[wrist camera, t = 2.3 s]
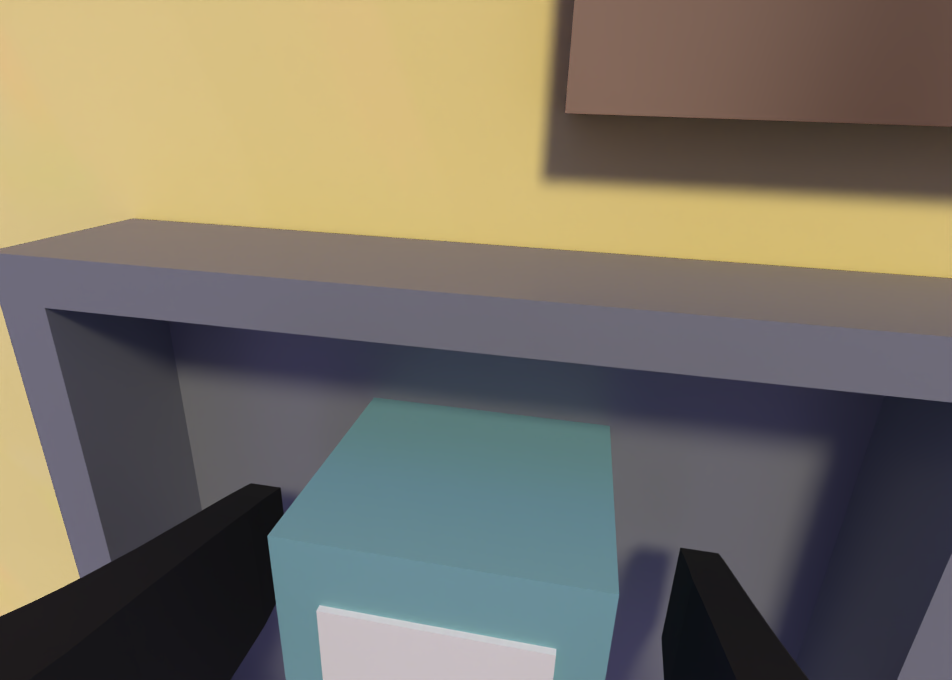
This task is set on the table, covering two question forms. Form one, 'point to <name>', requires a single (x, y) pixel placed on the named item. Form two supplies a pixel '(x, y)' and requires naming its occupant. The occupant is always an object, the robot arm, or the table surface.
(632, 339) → the bin
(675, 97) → the pad
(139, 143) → the table surface
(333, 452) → the labelled block
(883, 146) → the table surface
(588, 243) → the table surface
